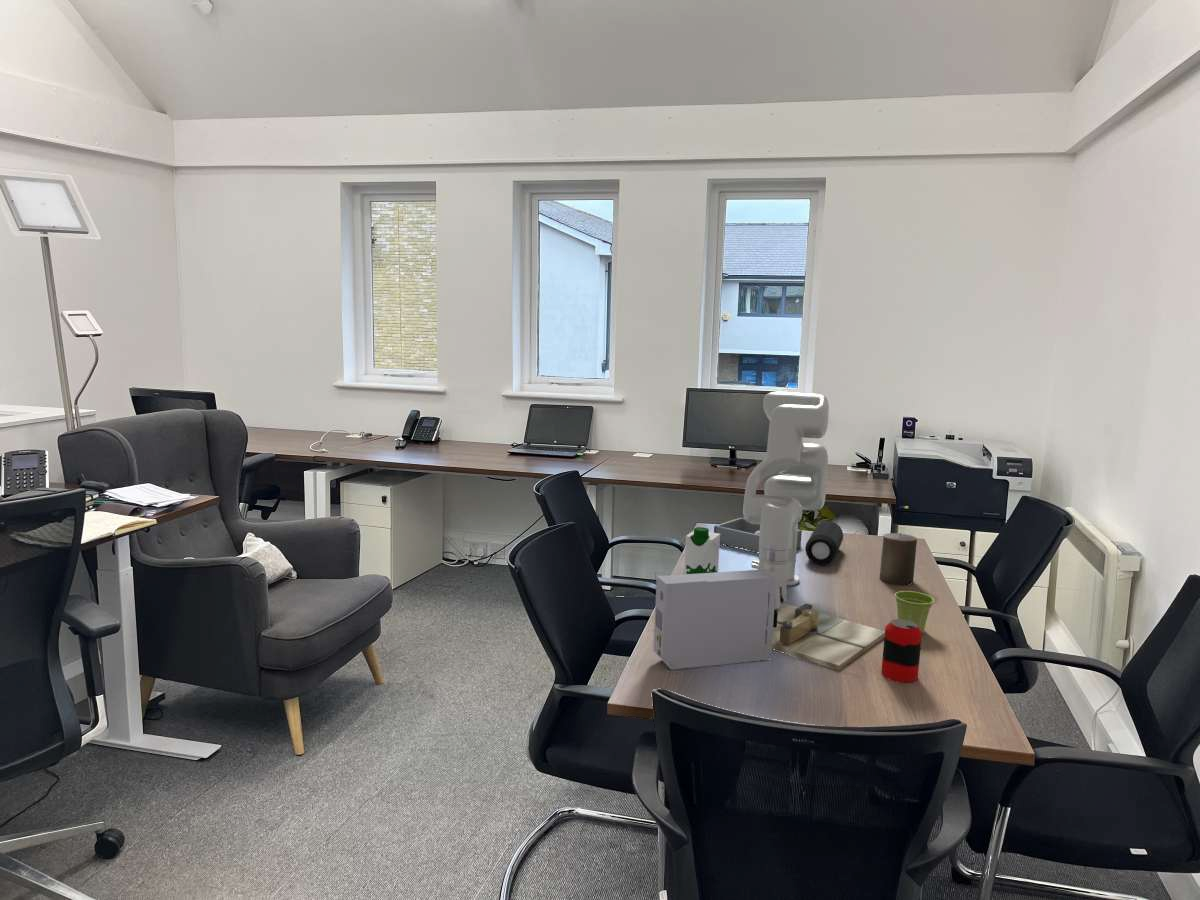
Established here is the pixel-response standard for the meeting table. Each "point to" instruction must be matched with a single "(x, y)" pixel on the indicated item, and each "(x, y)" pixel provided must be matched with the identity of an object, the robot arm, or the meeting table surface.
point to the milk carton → (702, 551)
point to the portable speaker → (824, 543)
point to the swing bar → (799, 626)
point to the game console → (714, 618)
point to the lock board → (826, 639)
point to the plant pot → (914, 607)
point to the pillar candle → (898, 558)
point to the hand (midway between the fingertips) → (769, 626)
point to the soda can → (901, 651)
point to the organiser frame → (743, 534)
